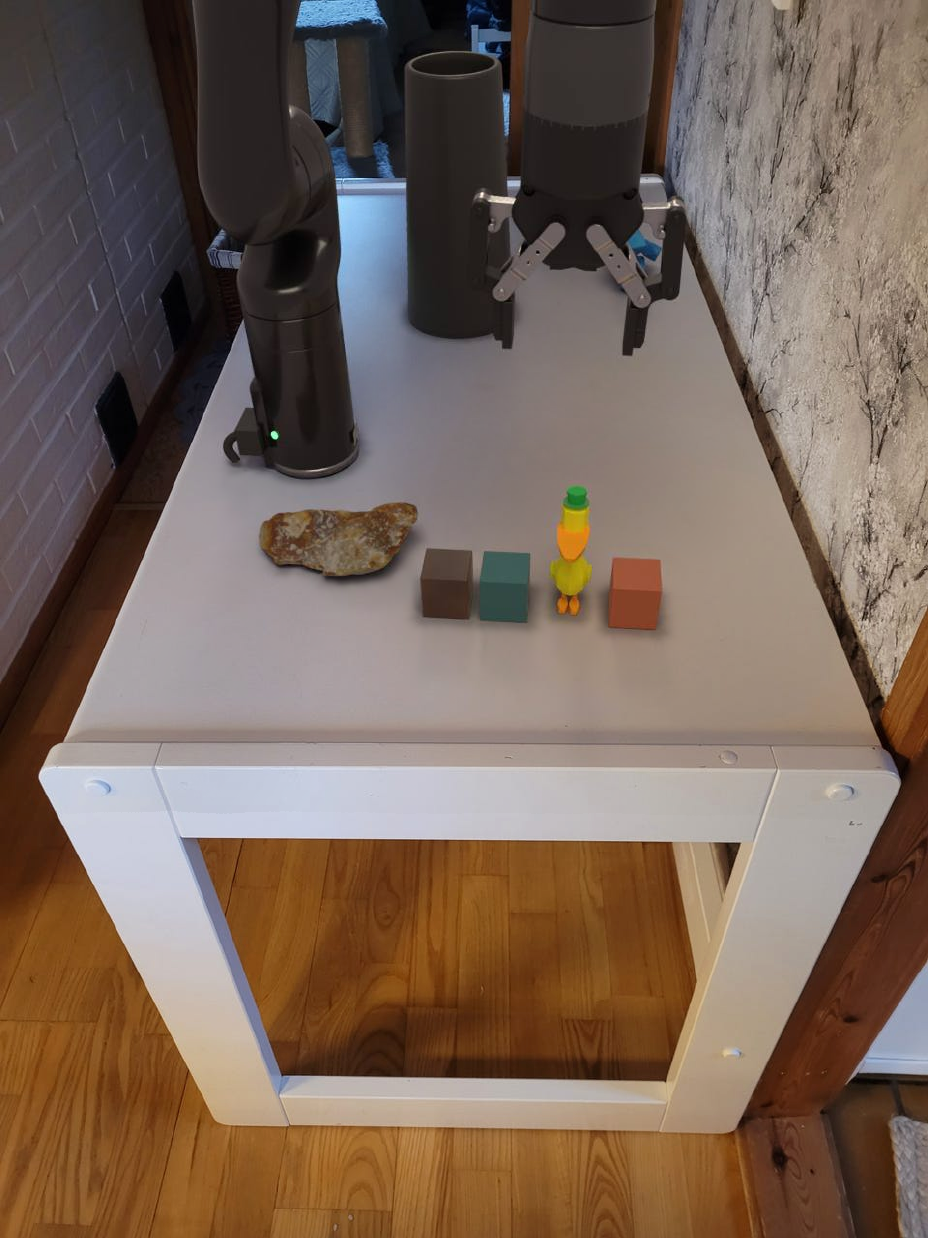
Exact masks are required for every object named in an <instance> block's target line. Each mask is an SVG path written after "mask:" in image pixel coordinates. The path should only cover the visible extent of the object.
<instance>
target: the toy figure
mask: <svg viewBox="0 0 928 1238" xmlns="http://www.w3.org/2000/svg"><path fill="white" fill-rule="evenodd" d="M566 493H567V496H565V497H564V498H563V500H562V505H561V519H560V522H559V523H558V524H557V530H556V537H557V538H556V539H557V549H558V552H559V554H560V556H559V557H558V558H557V560H555V561H554V560H551V561H550V564H549V581H551V580H553V582H554V584H555V586H556V587H557V589H558V590H559V591H560V592H561V597H560V598H559V599H558V600H557V606H556V607H557V608H556V609H557V613H558V614H561V615H565V613H567V611H568V612H569V614H570V615H571V616H577V615H578V613H579V612H580V602H579V600H578V593H580V592H581V591H582V590H583V589H584V587H585V586H586V585H587V584H589V583H590V581H591V578H592V574H593V566H592V564H591V563H588V561H587V559H586V558H585V557H584V555H583V554H584V552H585V551H586V547H587V545H588V542H589V538H590V533H591V525H590V524H589V517H590V503H591V502H590V499H589V498H588V497H587V494H588V490H587V489H586V488H585V487H583V486H580V485H573V486H570V487H568V488H567V489H566ZM567 596H572V597H571V599H570V601H568V597H567Z"/></svg>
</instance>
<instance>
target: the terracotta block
mask: <svg viewBox="0 0 928 1238" xmlns="http://www.w3.org/2000/svg"><path fill="white" fill-rule="evenodd" d="M611 561H612V562H611V571H610V580H609V589H608V627H609V628H616V629H619V628H620V629H633V630H635V629H636V630H653V631H654V630H655V631H656V630H657V626H658V621H659V615H660V614H659V613H660V608H661V603H662V595H663V580H662V579H663V578H662V564H661V559H656V558H655V559H654V558H635V557H634V558H633V557H612V560H611Z"/></svg>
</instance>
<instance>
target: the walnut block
mask: <svg viewBox="0 0 928 1238" xmlns="http://www.w3.org/2000/svg"><path fill="white" fill-rule="evenodd" d="M425 549H426V550H425V554H424V559H423V562H422V563H423V564H422V567H421V568H422V569H421V573H420V577H419V579H420V593H421V607H422V616H423V618H439V619H457V620H458V619H459V620H470V613H471V606H472V601H473V594H474V562H473V560H474V559H473V550H472V549H471V550H470V549H452V548H451V549H449V548H431V547H427V548H425Z"/></svg>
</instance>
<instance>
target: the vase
mask: <svg viewBox="0 0 928 1238" xmlns="http://www.w3.org/2000/svg"><path fill="white" fill-rule="evenodd" d="M502 68H503V67H502V63H501V61H500V60H499V59H498V58H497V57H495V56H493V55H490V54H488V53H483V52H477V51H468V50H467V51H466V50H450V51H449V50H447V51H439V52H438V51H437V52H432V53H431V52H430V53H427V54H422V55H419V56H415V57H414V58H412V59H410V60H408V62H407V63H406V64H405V65H404V114H405V115H404V127H405V128H404V129H405V130H404V134H405V135H404V136H405V142H404V143H405V203H406V205H405V210H406V211H405V212H406V216H405V217H406V228H405V229H406V230H405V231H406V281H407V282H406V289H407V317H408V320H409V323H410V324H411V325H412V326H413V327H414V328H416V329H417V330H419V331H420V332H422V333H425V334H427V335H431V336H434V337H437V338H445V339H469V338H476V337H477V338H478V337H481V336H485V335H489V334H491V333H492V334H493V299H492V297H491V296H490V294H488V293H487V292H484V291H482V290H478V291H473V290H471V289H469V288H468V286H467V282H466V281H467V264H468V246H469V228H470V211H471V206H472V203H473V200H474V196H475V193H476V191H477V190H479V189H480V188H487V189H488V190H490V191H491V193H492V195H493V196H502V197H509V193H508V170H507V149H506V148H507V147H506V127H505V112H504V111H505V108H504V107H505V104H504V88H503V84H504V83H503V69H502ZM510 232H511V231H510V217H508V218H506V219H504V220H503V222H502V224H501V228H500V229H499V230H498V231H497V232H495V233H490V243H489V257H488V265H489V266H491V267H494V268H496V269H499V270H500V269H501V268H502V267H503V265H504V264H505V263H506V262H507V260H508V259H509V258H510V257H511V256H512V253H511V252H512V251H511V233H510Z"/></svg>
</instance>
